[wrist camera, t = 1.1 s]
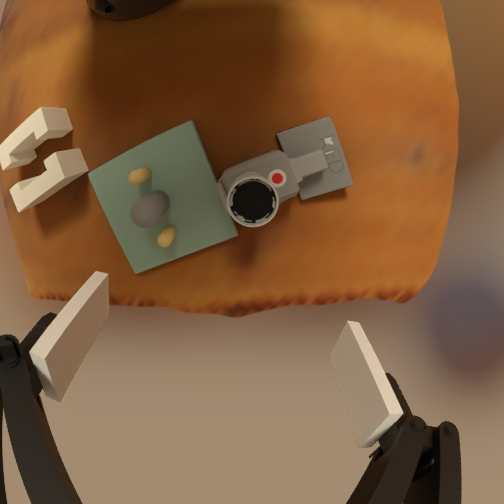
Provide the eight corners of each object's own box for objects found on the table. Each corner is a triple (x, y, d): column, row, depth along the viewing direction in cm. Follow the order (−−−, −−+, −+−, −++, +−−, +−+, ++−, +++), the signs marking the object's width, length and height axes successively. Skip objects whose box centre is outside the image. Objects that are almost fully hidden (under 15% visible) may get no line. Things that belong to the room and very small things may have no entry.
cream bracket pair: (42, 201, 34) (18, 212, 29) (22, 144, 30) (-4, 149, 25) (88, 170, 33) (64, 177, 27) (66, 108, 29) (40, 106, 24)
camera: (194, 169, 22) (363, 109, 21) (209, 160, 33) (324, 117, 32) (236, 261, 26) (390, 202, 24) (237, 224, 36) (347, 182, 35)
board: (92, 172, 33) (64, 181, 27) (193, 120, 31) (180, 116, 25) (138, 269, 38) (121, 294, 32) (238, 231, 37) (236, 253, 30)
